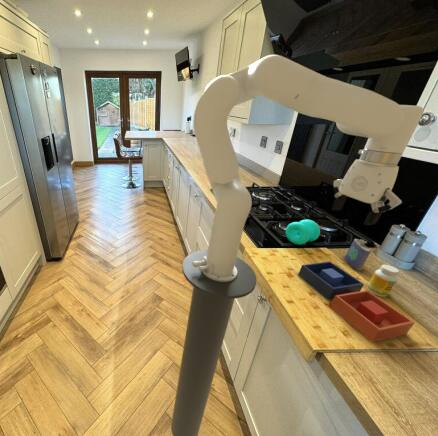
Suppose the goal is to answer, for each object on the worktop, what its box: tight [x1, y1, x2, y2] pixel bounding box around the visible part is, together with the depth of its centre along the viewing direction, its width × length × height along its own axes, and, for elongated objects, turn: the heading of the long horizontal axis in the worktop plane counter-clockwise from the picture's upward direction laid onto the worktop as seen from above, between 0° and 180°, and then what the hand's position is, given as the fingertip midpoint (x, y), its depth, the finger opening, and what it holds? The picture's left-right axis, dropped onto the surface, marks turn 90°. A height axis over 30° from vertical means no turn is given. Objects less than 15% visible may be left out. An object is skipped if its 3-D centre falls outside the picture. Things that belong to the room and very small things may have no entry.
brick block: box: [356, 300, 388, 324], centre depth 66 cm, size 4×4×4 cm
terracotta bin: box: [329, 289, 416, 343], centre depth 67 cm, size 12×12×4 cm
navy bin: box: [298, 260, 365, 301], centre depth 80 cm, size 12×12×4 cm
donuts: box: [285, 219, 321, 246], centre depth 104 cm, size 10×10×10 cm
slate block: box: [319, 268, 344, 288], centre depth 80 cm, size 4×4×4 cm
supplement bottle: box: [366, 264, 400, 297], centre depth 76 cm, size 5×5×10 cm
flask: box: [343, 238, 372, 272], centre depth 90 cm, size 9×3×11 cm, turn 164°
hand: (351, 216), depth 69 cm, fingers open, 9 cm apart
